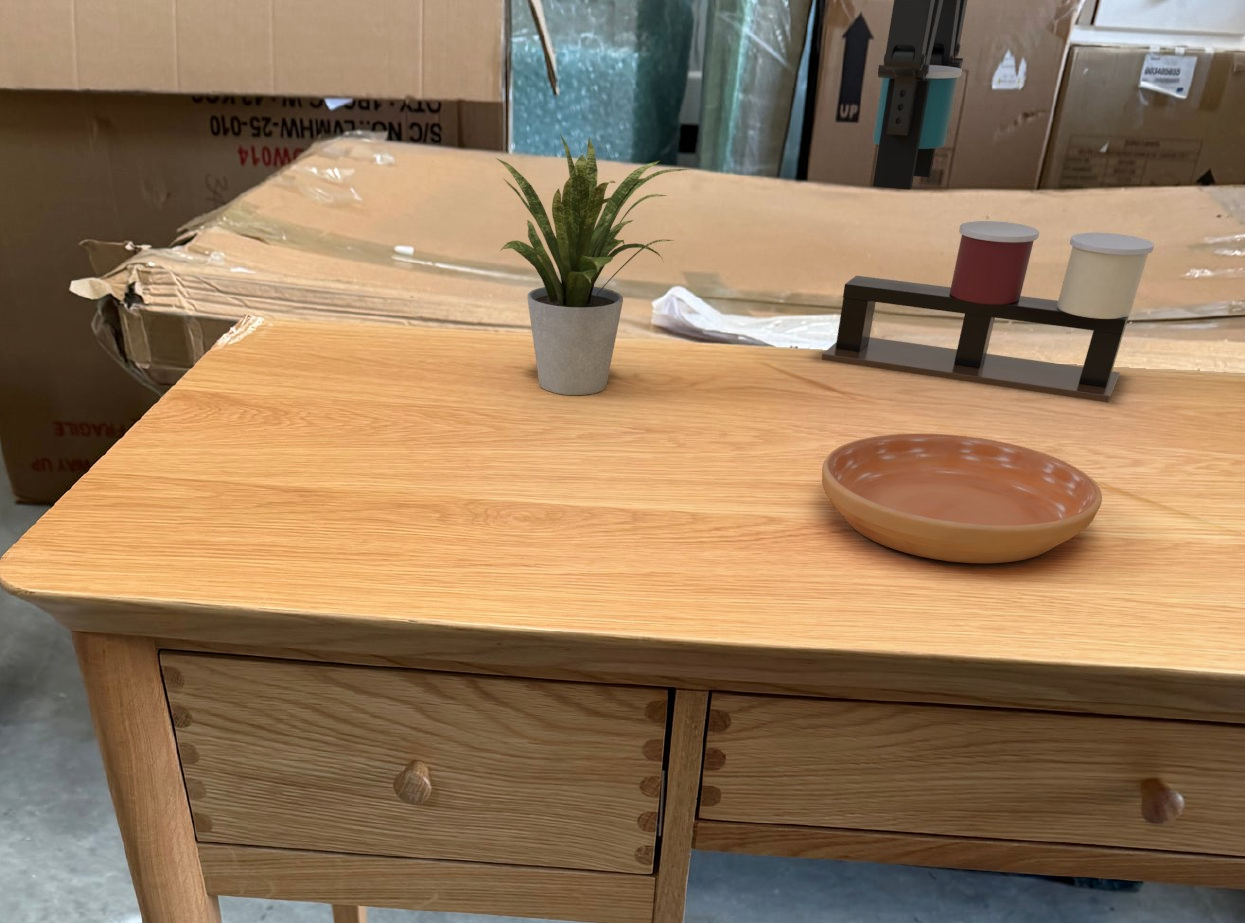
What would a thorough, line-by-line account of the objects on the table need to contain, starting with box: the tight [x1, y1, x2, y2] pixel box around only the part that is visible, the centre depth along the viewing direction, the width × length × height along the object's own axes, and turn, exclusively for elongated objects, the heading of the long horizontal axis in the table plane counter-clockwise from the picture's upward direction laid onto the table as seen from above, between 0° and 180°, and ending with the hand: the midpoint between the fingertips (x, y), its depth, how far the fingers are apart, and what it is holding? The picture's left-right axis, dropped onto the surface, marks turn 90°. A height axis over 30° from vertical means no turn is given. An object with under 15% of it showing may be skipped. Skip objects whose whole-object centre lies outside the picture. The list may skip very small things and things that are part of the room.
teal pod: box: [872, 65, 963, 149], centre depth 87 cm, size 6×6×5 cm
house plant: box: [495, 134, 690, 396], centre depth 86 cm, size 14×14×16 cm
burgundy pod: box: [950, 220, 1040, 305], centre depth 91 cm, size 6×6×5 cm
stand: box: [821, 275, 1130, 403], centre depth 94 cm, size 7×22×6 cm, turn 64°
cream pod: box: [1057, 232, 1155, 319], centre depth 88 cm, size 6×6×5 cm
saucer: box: [821, 432, 1103, 564], centre depth 72 cm, size 16×16×3 cm
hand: (902, 180), depth 90 cm, fingers closed on teal pod, 6 cm apart
